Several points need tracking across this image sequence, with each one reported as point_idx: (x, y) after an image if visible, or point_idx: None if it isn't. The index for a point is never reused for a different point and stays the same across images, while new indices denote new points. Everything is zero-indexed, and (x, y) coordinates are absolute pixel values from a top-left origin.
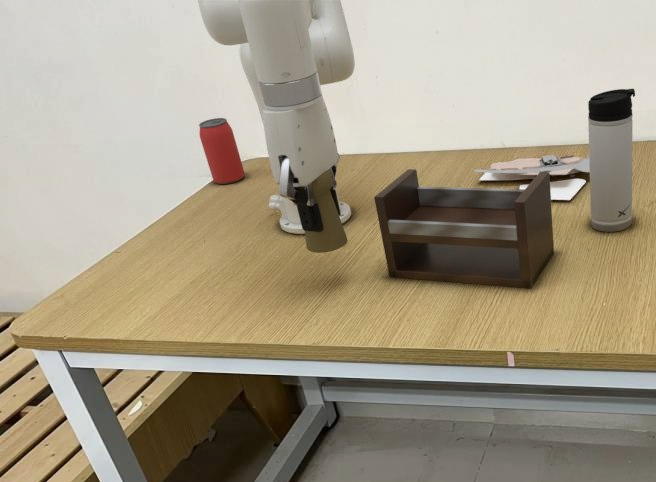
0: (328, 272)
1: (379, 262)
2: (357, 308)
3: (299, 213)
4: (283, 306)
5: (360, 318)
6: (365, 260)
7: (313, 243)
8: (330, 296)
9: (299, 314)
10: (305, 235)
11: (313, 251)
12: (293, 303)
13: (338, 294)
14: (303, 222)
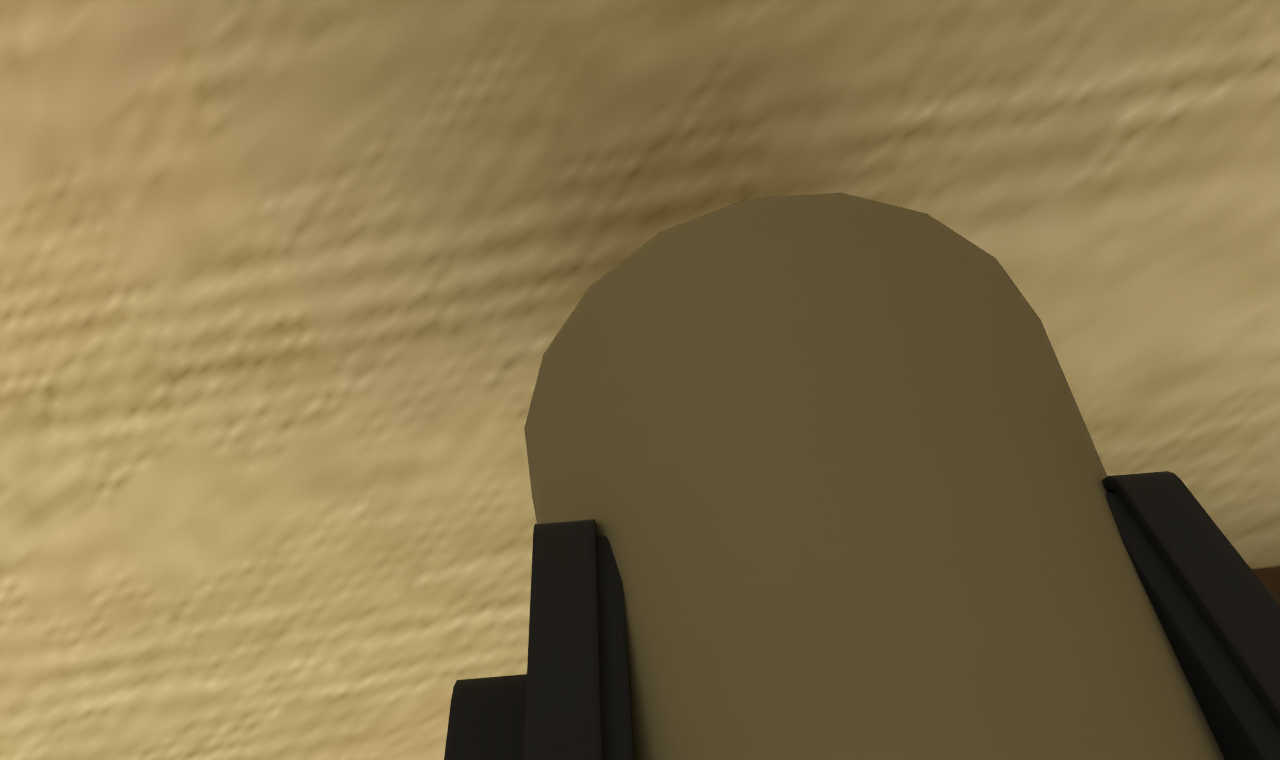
0: (899, 35)
1: (1139, 397)
2: (371, 648)
3: (528, 742)
4: (133, 27)
5: (257, 736)
6: (1178, 253)
7: (538, 515)
8: (466, 351)
9: (88, 284)
10: (609, 403)
11: (527, 435)
12: (225, 92)
13: (519, 395)
14: (447, 741)
